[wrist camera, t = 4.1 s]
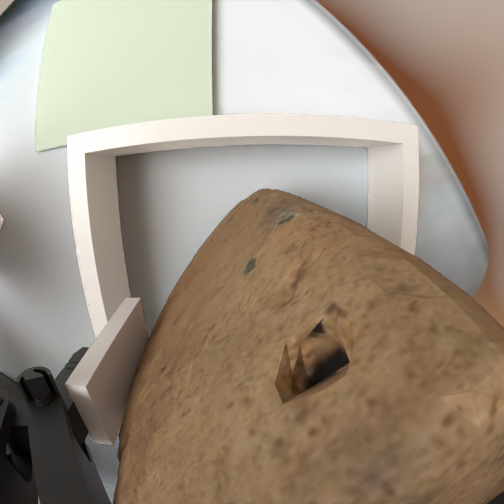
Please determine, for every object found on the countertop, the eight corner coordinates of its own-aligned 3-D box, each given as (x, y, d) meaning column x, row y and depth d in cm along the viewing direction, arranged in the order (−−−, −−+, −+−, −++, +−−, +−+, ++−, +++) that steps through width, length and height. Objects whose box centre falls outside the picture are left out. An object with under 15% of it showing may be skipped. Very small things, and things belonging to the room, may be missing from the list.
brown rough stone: (261, 173, 20) (609, 222, 1) (335, 245, 22) (567, 447, 2) (160, 287, 21) (37, 562, 2) (236, 345, 23) (257, 612, 4)
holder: (136, 376, 23) (122, 414, 19) (100, 142, 18) (67, 136, 14) (364, 361, 25) (387, 395, 20) (380, 133, 20) (417, 126, 15)
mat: (39, 151, 18) (35, 151, 17) (56, 6, 14) (53, 4, 14) (213, 125, 19) (212, 123, 18) (213, -29, 15) (212, -33, 15)
